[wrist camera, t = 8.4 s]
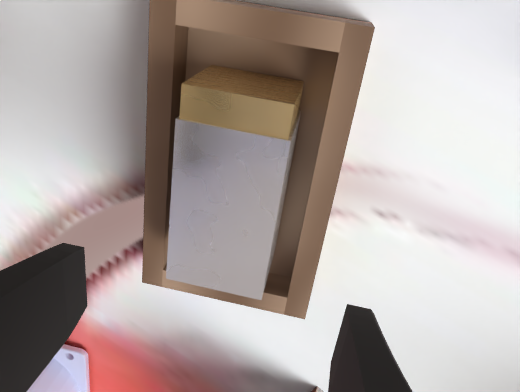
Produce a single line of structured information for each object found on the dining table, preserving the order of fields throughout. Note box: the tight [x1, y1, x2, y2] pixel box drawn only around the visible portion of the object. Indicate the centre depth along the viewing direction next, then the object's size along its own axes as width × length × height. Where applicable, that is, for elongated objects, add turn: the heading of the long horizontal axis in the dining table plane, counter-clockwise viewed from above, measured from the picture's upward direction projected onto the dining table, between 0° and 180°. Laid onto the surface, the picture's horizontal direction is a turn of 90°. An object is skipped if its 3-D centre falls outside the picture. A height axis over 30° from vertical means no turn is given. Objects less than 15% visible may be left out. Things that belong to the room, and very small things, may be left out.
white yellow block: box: [166, 65, 304, 300], centre depth 18 cm, size 4×8×4 cm, turn 172°
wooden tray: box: [142, 0, 375, 319], centre depth 19 cm, size 8×13×2 cm, turn 172°
